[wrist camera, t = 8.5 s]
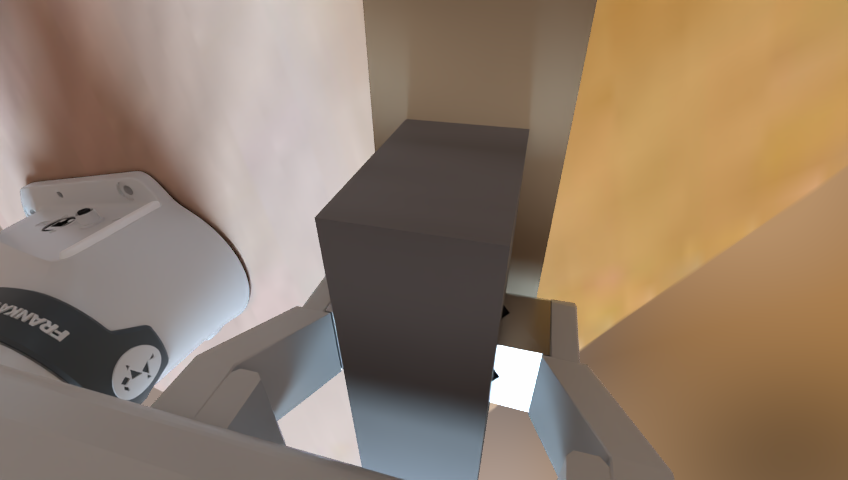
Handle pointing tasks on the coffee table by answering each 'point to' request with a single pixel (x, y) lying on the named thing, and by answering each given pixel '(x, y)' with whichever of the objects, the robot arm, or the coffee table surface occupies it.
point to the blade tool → (447, 215)
